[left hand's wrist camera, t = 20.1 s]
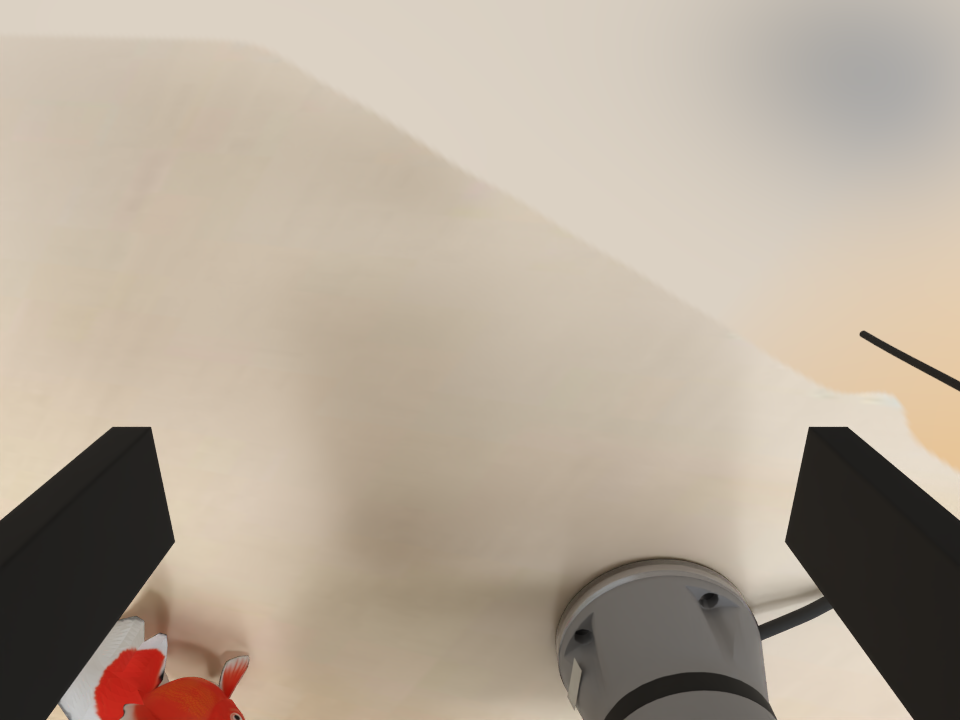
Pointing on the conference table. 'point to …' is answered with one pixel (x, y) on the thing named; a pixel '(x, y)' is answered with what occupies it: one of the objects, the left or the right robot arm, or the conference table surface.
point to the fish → (146, 683)
